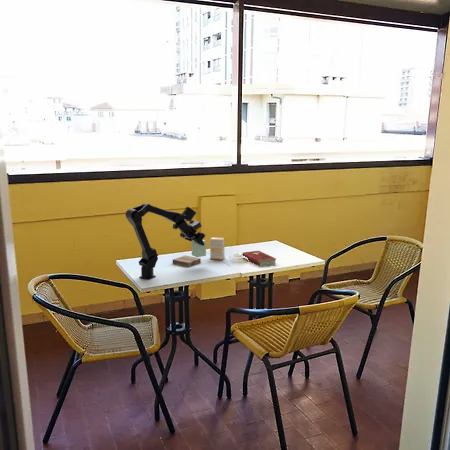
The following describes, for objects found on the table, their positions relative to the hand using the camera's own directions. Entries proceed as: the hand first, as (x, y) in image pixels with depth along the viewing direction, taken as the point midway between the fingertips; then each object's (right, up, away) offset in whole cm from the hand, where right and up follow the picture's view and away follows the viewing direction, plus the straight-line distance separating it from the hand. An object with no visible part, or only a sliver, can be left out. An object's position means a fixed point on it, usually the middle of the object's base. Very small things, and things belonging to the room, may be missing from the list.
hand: (200, 244), depth 267 cm
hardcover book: (+35, -12, +15) cm, 40 cm away
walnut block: (-9, -12, +9) cm, 18 cm away
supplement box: (+9, -10, +19) cm, 24 cm away
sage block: (-1, -7, 0) cm, 7 cm away
